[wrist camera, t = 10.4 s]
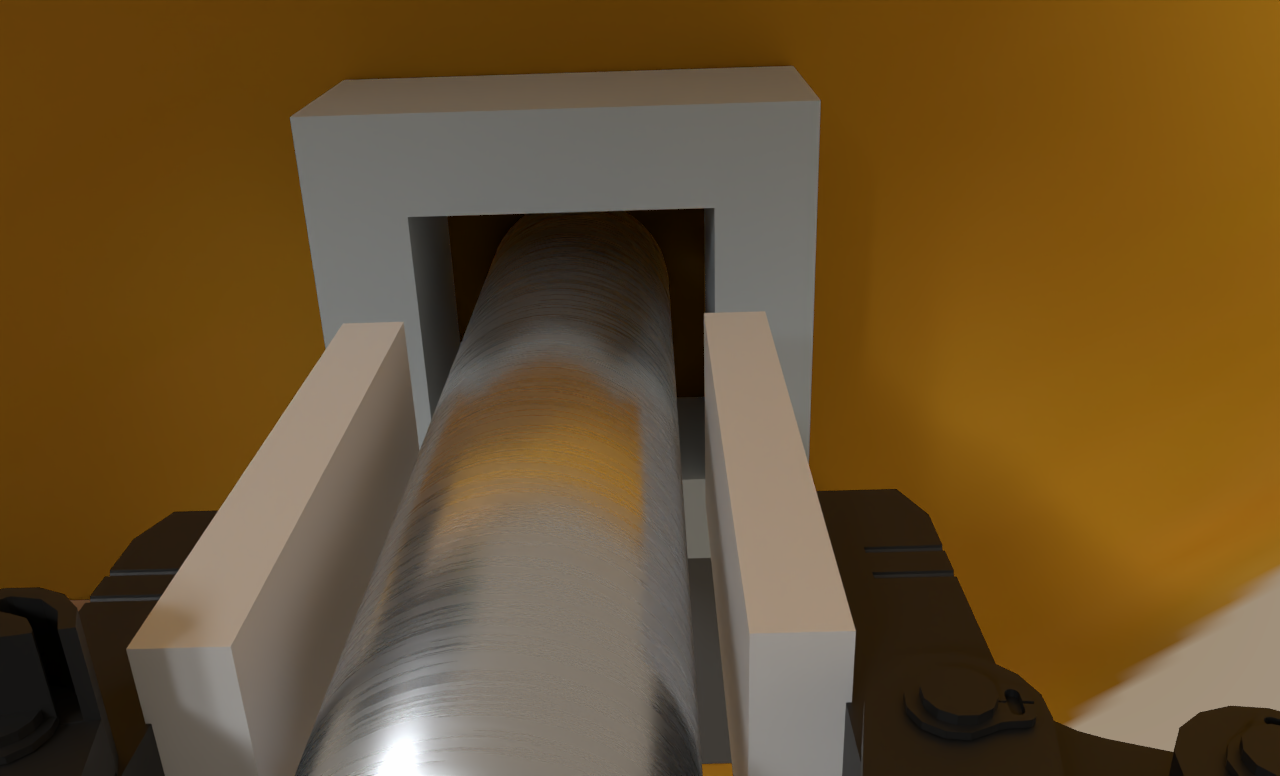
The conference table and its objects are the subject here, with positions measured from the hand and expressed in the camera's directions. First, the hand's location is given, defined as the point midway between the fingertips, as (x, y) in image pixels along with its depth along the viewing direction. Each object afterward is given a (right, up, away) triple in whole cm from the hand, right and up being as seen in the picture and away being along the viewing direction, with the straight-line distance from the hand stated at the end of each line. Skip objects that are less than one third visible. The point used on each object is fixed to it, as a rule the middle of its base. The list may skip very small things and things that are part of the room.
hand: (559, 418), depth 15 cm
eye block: (0, +2, +5) cm, 5 cm away
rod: (0, +2, +5) cm, 5 cm away
